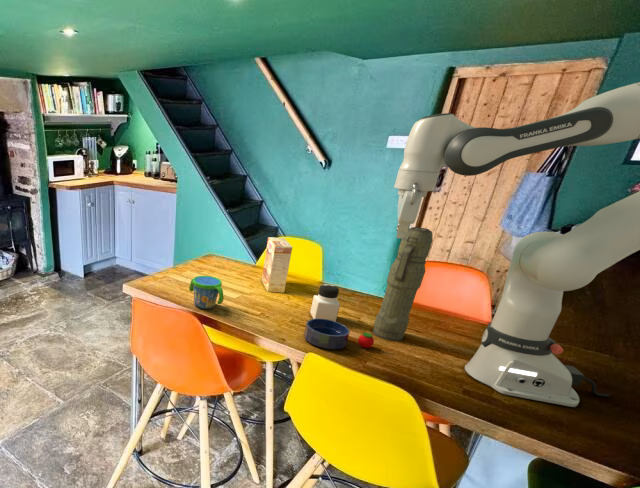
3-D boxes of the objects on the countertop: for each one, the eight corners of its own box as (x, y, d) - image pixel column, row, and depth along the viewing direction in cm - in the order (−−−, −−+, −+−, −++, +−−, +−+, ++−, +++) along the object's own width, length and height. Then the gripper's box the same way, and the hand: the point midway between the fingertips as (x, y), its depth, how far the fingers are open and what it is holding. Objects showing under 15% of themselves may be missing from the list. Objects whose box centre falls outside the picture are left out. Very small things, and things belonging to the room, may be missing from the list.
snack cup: (229, 310, 147) (232, 284, 143) (206, 316, 142) (209, 289, 138) (202, 296, 159) (205, 272, 155) (180, 300, 155) (182, 275, 151)
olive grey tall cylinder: (366, 335, 131) (397, 229, 117) (377, 324, 139) (407, 223, 125) (397, 345, 125) (433, 234, 111) (407, 333, 133) (442, 228, 119)
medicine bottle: (335, 323, 139) (343, 290, 134) (314, 320, 140) (321, 289, 136) (330, 314, 146) (338, 283, 141) (309, 312, 147) (316, 281, 142)
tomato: (372, 346, 124) (375, 333, 123) (371, 351, 121) (375, 339, 119) (357, 342, 126) (360, 330, 125) (356, 347, 123) (359, 335, 121)
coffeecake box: (260, 279, 179) (267, 236, 172) (277, 280, 178) (284, 237, 171) (266, 291, 166) (274, 245, 158) (284, 293, 165) (293, 246, 157)
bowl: (347, 338, 128) (351, 324, 126) (343, 354, 119) (347, 340, 117) (307, 329, 134) (310, 315, 132) (300, 343, 125) (303, 329, 123)
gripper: (433, 187, 95) (415, 244, 100) (427, 180, 111) (412, 229, 116) (401, 184, 98) (385, 240, 103) (400, 178, 114) (387, 226, 119)
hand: (399, 234), depth 110 cm, fingers open, 8 cm apart
